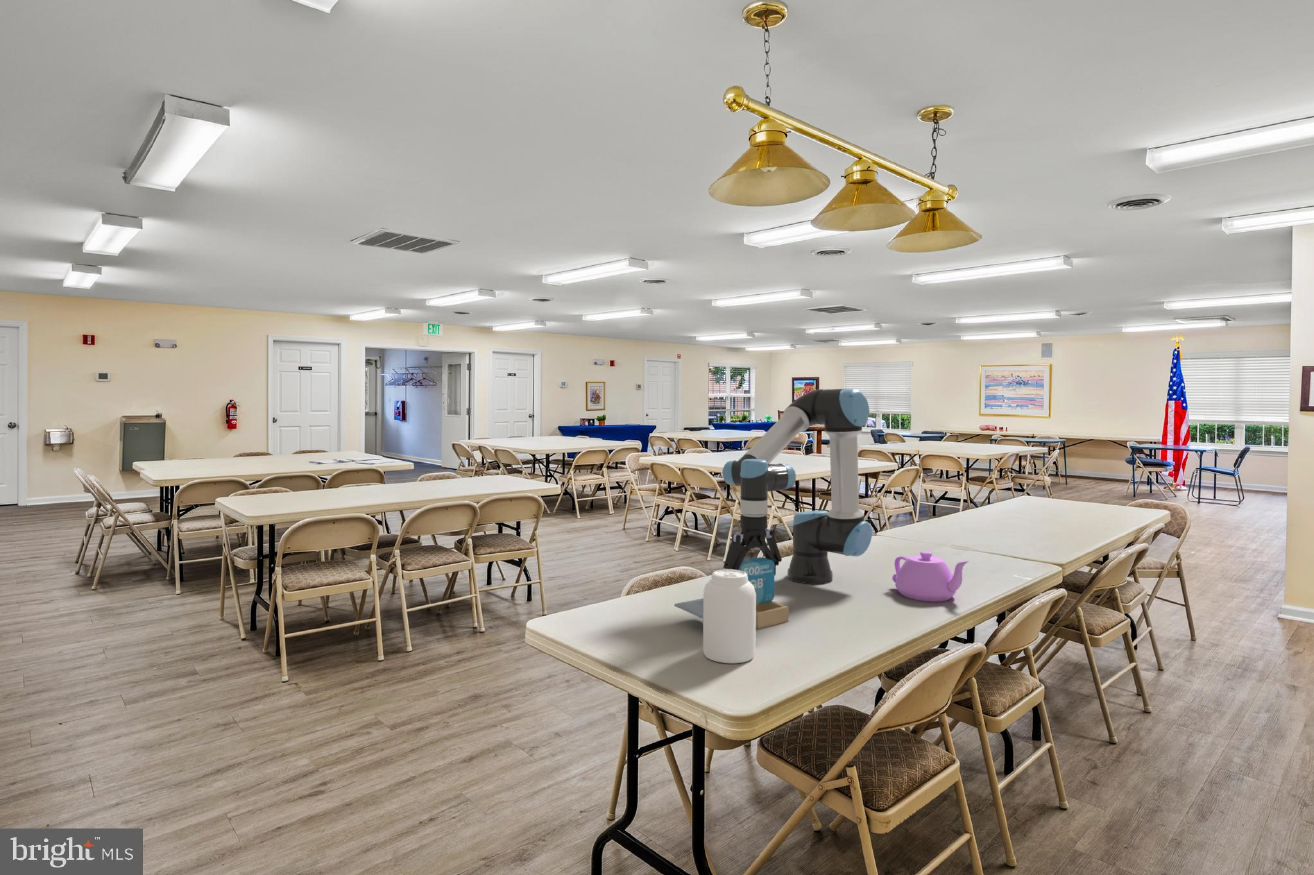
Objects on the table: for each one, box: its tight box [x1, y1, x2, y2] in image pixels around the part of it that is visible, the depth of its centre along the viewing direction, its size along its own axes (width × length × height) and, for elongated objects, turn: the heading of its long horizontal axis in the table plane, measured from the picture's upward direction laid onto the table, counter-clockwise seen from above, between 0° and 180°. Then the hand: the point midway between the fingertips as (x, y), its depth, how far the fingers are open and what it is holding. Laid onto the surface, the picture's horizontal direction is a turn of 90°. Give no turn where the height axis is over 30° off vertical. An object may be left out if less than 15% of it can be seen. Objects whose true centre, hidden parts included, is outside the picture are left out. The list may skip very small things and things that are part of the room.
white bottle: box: [702, 568, 757, 664], centre depth 162 cm, size 12×12×20 cm
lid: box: [673, 597, 704, 620], centre depth 183 cm, size 11×17×4 cm, turn 33°
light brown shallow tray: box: [756, 600, 790, 629], centre depth 192 cm, size 11×17×4 cm, turn 33°
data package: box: [738, 556, 775, 605], centre depth 191 cm, size 12×4×12 cm, turn 121°
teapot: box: [892, 550, 969, 603], centre depth 212 cm, size 25×18×14 cm
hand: (753, 590), depth 191 cm, fingers closed on data package, 12 cm apart
